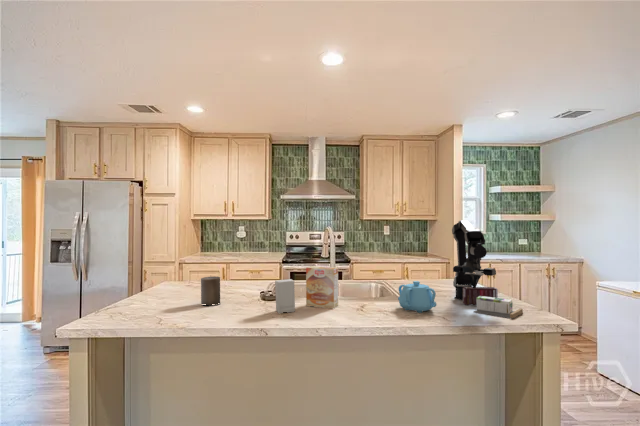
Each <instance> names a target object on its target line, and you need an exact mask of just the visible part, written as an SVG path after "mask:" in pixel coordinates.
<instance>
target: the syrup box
mask: <svg viewBox="0 0 640 426" xmlns="http://www.w3.org/2000/svg"><path fill="white" fill-rule="evenodd" d="M476 304H477V305H476V310H484V311H491V312H498V313H506V314H510V313H511V312H512V311H513V308H514V305H513V300H512V299H511V298H510V299H508V298H501V297H498V298H494V297H486V296H479V297H477V298H476Z"/></svg>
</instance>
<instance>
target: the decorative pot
mask: <svg viewBox="0 0 640 426" xmlns="http://www.w3.org/2000/svg"><path fill="white" fill-rule="evenodd" d="M398 293H399V296H398V298H397V299H398V302H399V306H400V307H401V308H402V309H404V311H407V310H409V311H416V313H419V314H422V313H423V312H426V311H429V310H432V309H433V308H436V307H437V302H436V301H435V299H436V296H437V295H436V294H437V293H436V291H435V289H434V288H432V287H430V286H429V285H428V284H421V282H420V281H418V280H414V281H412V283H408V284H401V285H399V286H398Z"/></svg>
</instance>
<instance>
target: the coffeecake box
mask: <svg viewBox="0 0 640 426" xmlns="http://www.w3.org/2000/svg"><path fill="white" fill-rule="evenodd" d="M305 274H306V275H305V280H306V281H305V286H306V287H305V288H306V291H305V296H306V297H305V301H306V307H310V306H314V307H313V308H321V307H325V308H324V309H332V308H334V309H335V308H337V307H338V306H339V267H336V266H333V267H332V266H318V265H317V266H316V265H315V266H314V265H312V266H307V267H306V268H305Z"/></svg>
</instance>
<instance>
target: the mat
mask: <svg viewBox="0 0 640 426" xmlns="http://www.w3.org/2000/svg"><path fill="white" fill-rule="evenodd" d="M523 311H524V310H523V308H518V309H516V310H514V311H513V310H512V312H511V313H510V314H506V313H498V312H491V311H484V310H477V309H476V310H473V313H476V314H477V313H478V314H484V315H487V316H494V317H500V318H506V319H510V318H511V320H513V319H515V317H516V318H517V317H520V316H521V315H523V314H522V313H524V312H523Z"/></svg>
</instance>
